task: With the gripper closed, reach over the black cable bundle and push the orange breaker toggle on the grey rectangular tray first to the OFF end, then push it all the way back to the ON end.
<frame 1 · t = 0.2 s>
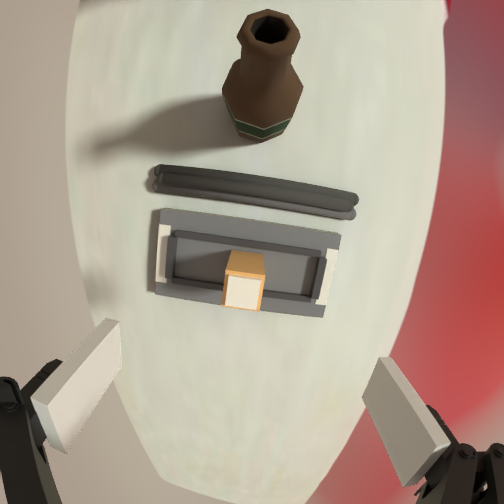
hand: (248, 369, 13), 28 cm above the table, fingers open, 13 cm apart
grey rectangular tray: (245, 262, 41), on the table
breaker toggle: (243, 278, 34), point 7 cm above the table, slide at 0.0 cm
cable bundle: (256, 189, 38), on the table
beer bottle: (259, 117, 36), on the table
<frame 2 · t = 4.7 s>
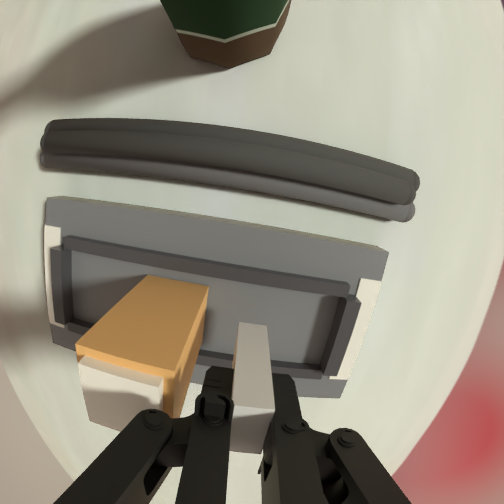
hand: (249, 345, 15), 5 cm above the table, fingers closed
grey rectangular tray: (197, 299, 20), on the table
breaker toggle: (153, 346, 14), point 7 cm above the table, slide at -1.1 cm, touching gripper
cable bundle: (218, 156, 18), on the table
beer bottle: (230, 29, 16), on the table
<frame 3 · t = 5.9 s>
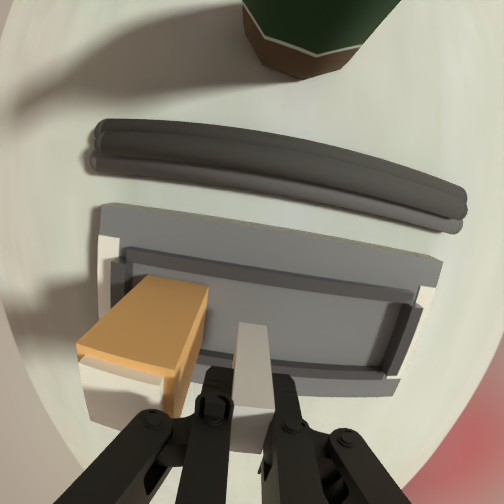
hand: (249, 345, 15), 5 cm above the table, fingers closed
grey rectangular tray: (267, 310, 21), on the table
breaker toggle: (153, 345, 14), point 7 cm above the table, slide at -6.1 cm, touching gripper
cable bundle: (293, 168, 19), on the table
beer bottle: (298, 39, 17), on the table
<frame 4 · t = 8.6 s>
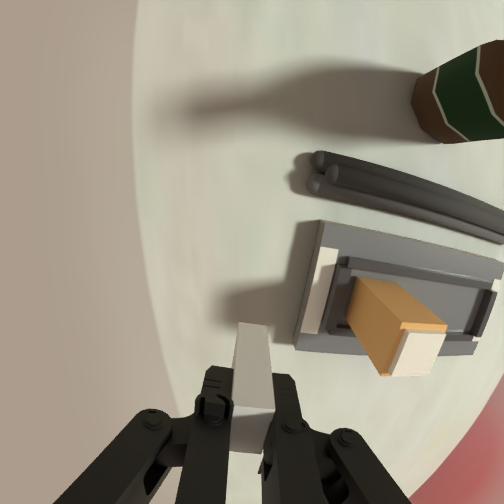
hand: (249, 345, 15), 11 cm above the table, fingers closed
grey rectangular tray: (412, 297, 27), on the table
breaker toggle: (391, 323, 20), point 7 cm above the table, slide at -6.3 cm
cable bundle: (436, 204, 25), on the table
beer bottle: (437, 109, 23), on the table
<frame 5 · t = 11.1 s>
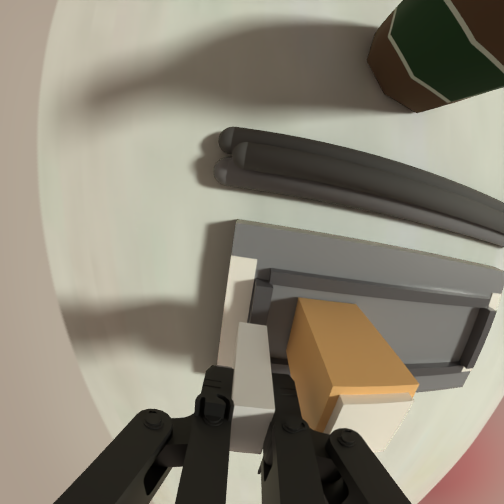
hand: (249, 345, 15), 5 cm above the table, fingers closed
grey rectangular tray: (379, 320, 21), on the table
breaker toggle: (339, 368, 14), point 7 cm above the table, slide at -5.5 cm, touching gripper
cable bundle: (409, 194, 19), on the table
beer bottle: (406, 70, 17), on the table
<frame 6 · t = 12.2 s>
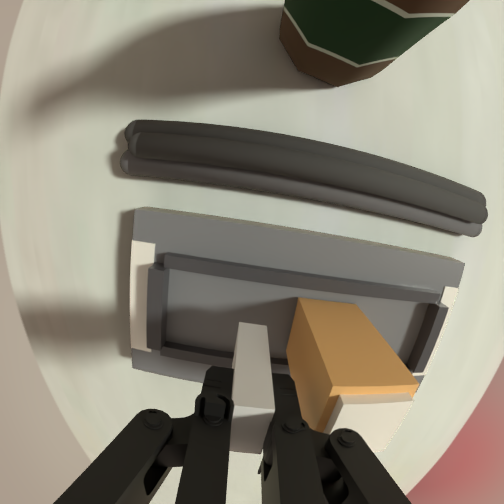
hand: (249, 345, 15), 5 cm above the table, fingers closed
grey rectangular tray: (301, 313, 21), on the table
breaker toggle: (339, 368, 14), point 7 cm above the table, slide at 1.0 cm, touching gripper
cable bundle: (329, 174, 19), on the table
beer bottle: (330, 45, 17), on the table
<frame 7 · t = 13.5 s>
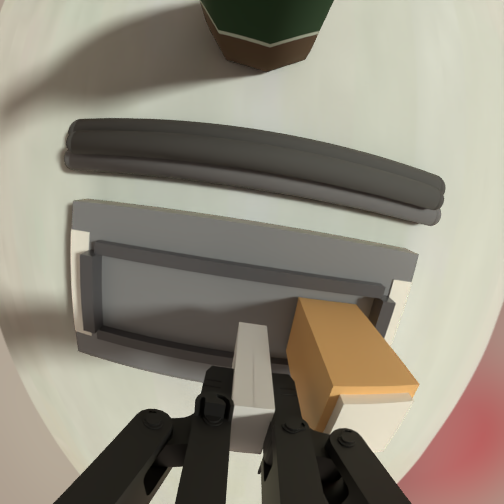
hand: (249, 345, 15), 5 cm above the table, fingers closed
grey rectangular tray: (233, 303, 21), on the table
breaker toggle: (339, 368, 14), point 7 cm above the table, slide at 6.0 cm, touching gripper
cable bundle: (256, 160, 18), on the table
beer bottle: (263, 32, 17), on the table
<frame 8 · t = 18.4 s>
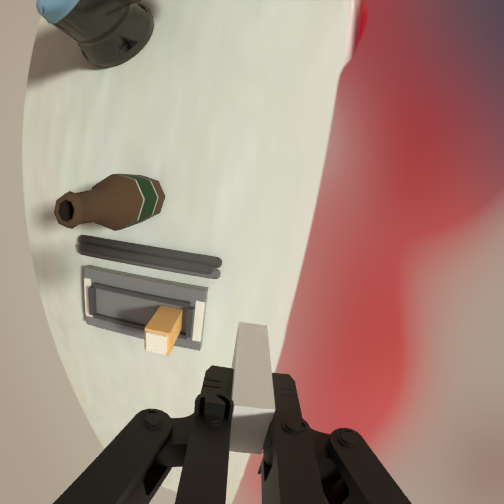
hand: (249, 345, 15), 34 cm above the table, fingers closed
grey rectangular tray: (142, 305, 52), on the table
breaker toggle: (164, 329, 45), point 7 cm above the table, slide at 6.2 cm
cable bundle: (145, 254, 50), on the table
beer bottle: (145, 197, 48), on the table
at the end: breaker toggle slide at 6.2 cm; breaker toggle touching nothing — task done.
